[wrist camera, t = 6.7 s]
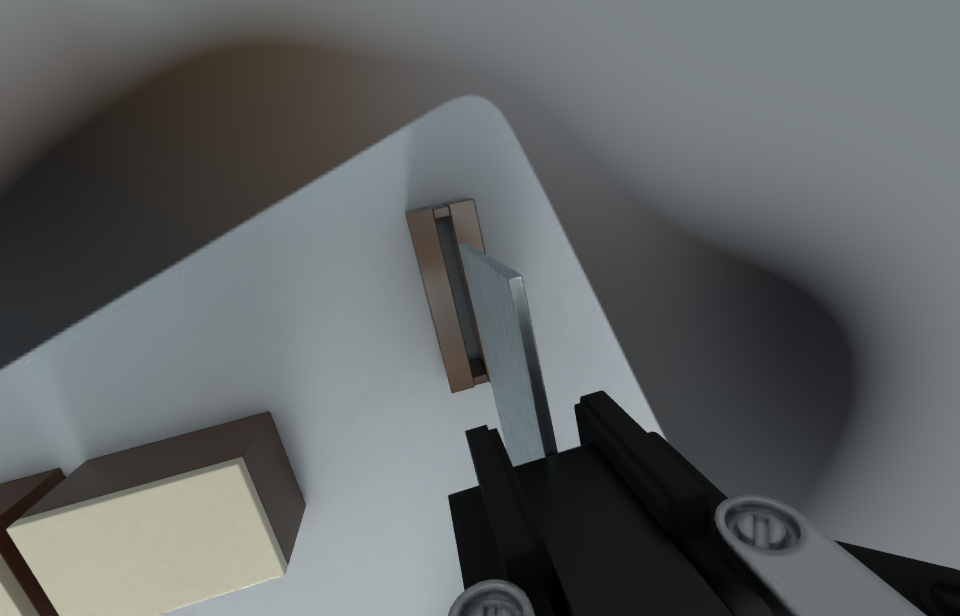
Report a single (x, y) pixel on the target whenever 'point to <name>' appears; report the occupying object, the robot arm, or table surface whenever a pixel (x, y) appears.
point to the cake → (166, 523)
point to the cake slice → (3, 571)
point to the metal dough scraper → (576, 479)
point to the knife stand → (449, 286)
